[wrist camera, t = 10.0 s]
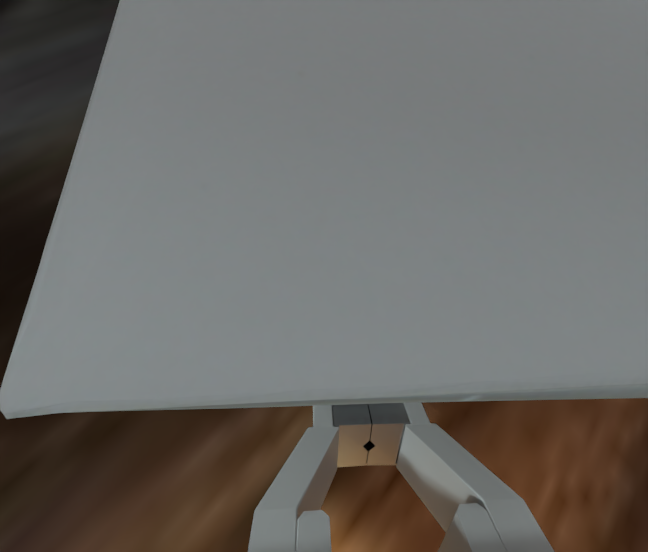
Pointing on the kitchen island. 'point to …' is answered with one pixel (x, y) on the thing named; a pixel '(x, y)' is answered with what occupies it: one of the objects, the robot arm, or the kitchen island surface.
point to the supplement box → (349, 210)
